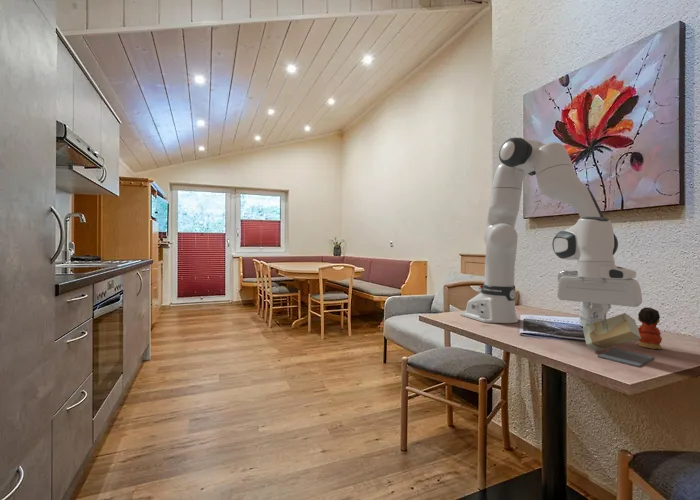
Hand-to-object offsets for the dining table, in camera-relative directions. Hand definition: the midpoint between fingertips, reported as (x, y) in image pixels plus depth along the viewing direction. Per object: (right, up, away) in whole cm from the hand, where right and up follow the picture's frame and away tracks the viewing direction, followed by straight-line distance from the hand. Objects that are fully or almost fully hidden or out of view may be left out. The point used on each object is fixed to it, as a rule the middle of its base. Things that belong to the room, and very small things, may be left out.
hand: (596, 318), depth 98 cm
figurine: (+19, -10, +4) cm, 22 cm away
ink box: (+16, -9, +24) cm, 30 cm away
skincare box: (-1, -7, +2) cm, 7 cm away
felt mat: (+4, -10, -5) cm, 12 cm away
